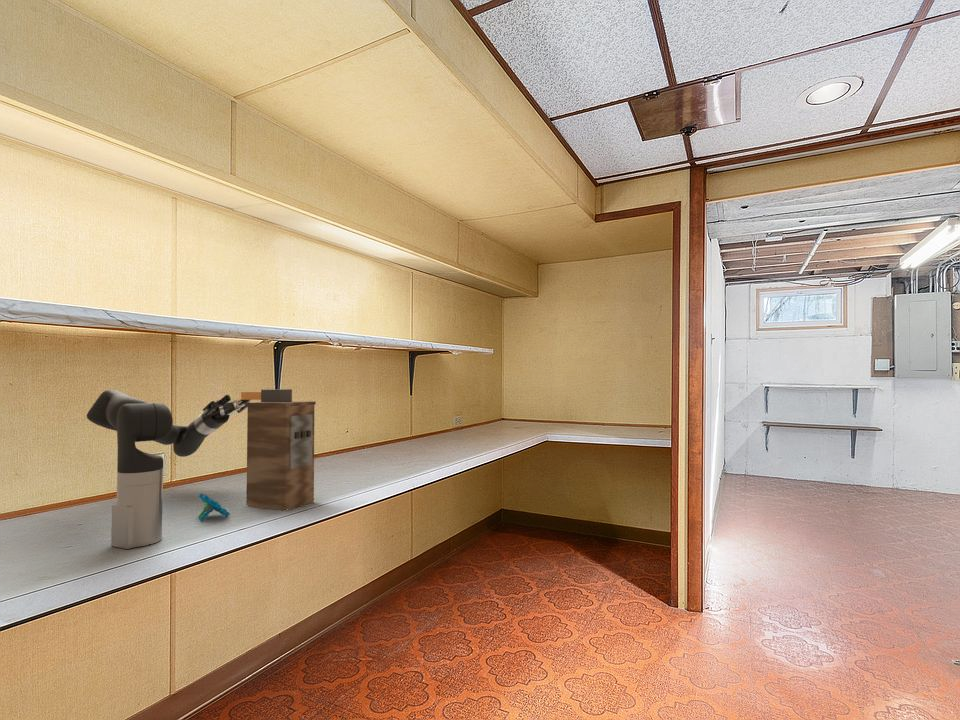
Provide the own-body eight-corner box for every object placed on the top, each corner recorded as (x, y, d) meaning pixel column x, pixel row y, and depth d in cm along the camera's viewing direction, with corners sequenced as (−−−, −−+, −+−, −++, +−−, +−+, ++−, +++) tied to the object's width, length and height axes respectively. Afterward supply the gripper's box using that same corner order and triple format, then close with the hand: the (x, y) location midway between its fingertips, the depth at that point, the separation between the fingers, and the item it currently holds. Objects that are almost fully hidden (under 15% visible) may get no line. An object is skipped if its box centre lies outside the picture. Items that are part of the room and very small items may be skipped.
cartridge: (279, 402, 155) (280, 389, 156) (238, 401, 163) (238, 389, 163) (291, 401, 160) (291, 389, 160) (251, 401, 167) (251, 389, 168)
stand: (287, 511, 147) (288, 403, 149) (243, 505, 155) (245, 402, 156) (318, 501, 159) (318, 401, 161) (276, 497, 166) (277, 401, 168)
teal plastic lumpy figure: (235, 513, 139) (207, 491, 136) (219, 532, 136) (189, 510, 132) (224, 511, 147) (197, 490, 144) (209, 529, 144) (181, 508, 140)
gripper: (233, 426, 178) (261, 404, 172) (196, 431, 165) (225, 407, 159) (225, 408, 180) (253, 385, 174) (188, 411, 167) (217, 387, 161)
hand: (240, 396), depth 167 cm, fingers open, 8 cm apart
